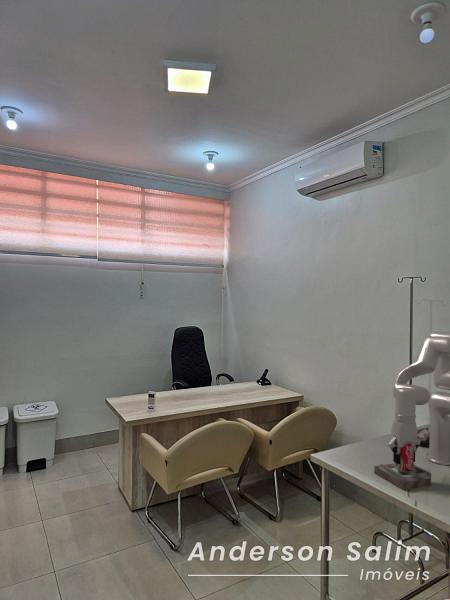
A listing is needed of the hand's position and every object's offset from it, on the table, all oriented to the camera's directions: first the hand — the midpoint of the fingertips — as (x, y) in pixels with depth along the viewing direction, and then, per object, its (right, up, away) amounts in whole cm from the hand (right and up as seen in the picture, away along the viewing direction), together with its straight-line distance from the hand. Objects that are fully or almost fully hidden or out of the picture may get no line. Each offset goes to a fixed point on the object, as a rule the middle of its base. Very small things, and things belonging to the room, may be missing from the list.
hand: (404, 461), depth 161 cm
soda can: (0, -4, 0) cm, 4 cm away
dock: (-1, -8, +1) cm, 8 cm away
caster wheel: (+31, -9, +44) cm, 54 cm away
